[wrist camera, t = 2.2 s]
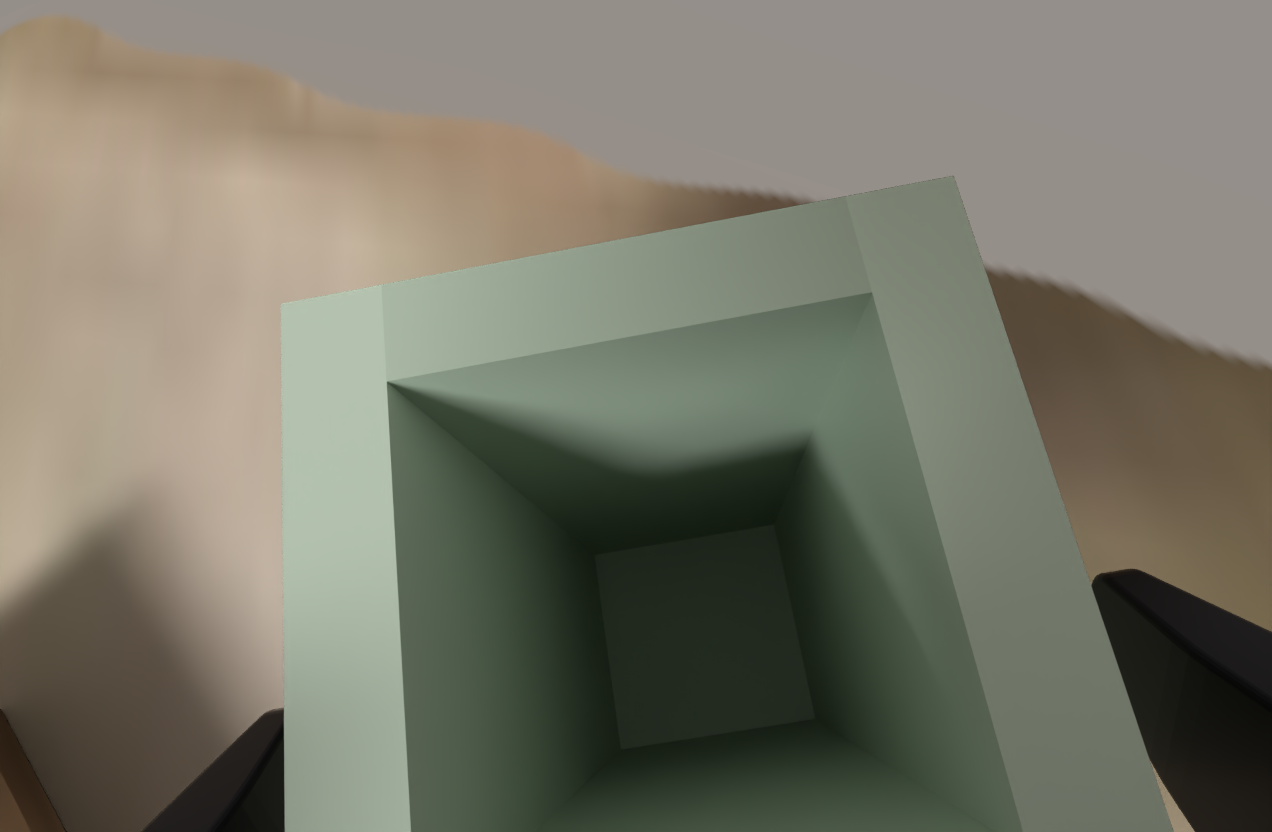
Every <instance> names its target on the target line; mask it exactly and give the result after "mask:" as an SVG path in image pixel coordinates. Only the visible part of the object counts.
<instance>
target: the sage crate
mask: <svg viewBox="0 0 1272 832" xmlns="http://www.w3.org/2000/svg"><path fill="white" fill-rule="evenodd" d="M281 396H282V528H283V660H284V792H285V832H1174V831H1173V828H1172V825H1171V822H1170V819H1169V816H1168V813H1167V810H1166V807H1165V804H1164V801H1163V798H1162V795H1161V792H1160V789H1159V786H1158V783H1157V780H1156V777H1155V775H1154V772H1153V769H1152V766H1151V763H1150V760H1149V757H1148V754H1147V751H1146V748H1145V745H1144V742H1143V739H1142V736H1141V733H1140V730H1139V727H1138V724H1137V721H1136V718H1135V715H1134V712H1133V709H1132V706H1131V703H1130V700H1129V697H1128V694H1127V691H1126V688H1125V685H1124V682H1123V679H1122V676H1121V673H1120V670H1119V667H1118V664H1117V661H1116V658H1115V655H1114V652H1113V649H1112V646H1111V643H1110V640H1109V637H1108V634H1107V631H1106V628H1105V625H1104V622H1103V620H1102V617H1101V614H1100V611H1099V608H1098V605H1097V602H1096V599H1095V596H1094V593H1093V590H1092V587H1091V584H1090V581H1089V578H1088V575H1087V572H1086V569H1085V566H1084V563H1083V560H1082V557H1081V554H1080V551H1079V548H1078V545H1077V542H1076V539H1075V536H1074V533H1073V530H1072V527H1071V524H1070V521H1069V518H1068V515H1067V512H1066V509H1065V506H1064V503H1063V500H1062V497H1061V494H1060V491H1059V488H1058V485H1057V482H1056V479H1055V476H1054V473H1053V470H1052V467H1051V465H1050V462H1049V459H1048V456H1047V453H1046V450H1045V447H1044V444H1043V441H1042V438H1041V435H1040V432H1039V429H1038V426H1037V423H1036V420H1035V417H1034V414H1033V411H1032V408H1031V405H1030V402H1029V399H1028V396H1027V393H1026V390H1025V387H1024V384H1023V381H1022V378H1021V375H1020V372H1019V369H1018V366H1017V363H1016V360H1015V357H1014V354H1013V351H1012V348H1011V345H1010V342H1009V339H1008V336H1007V333H1006V330H1005V327H1004V324H1003V321H1002V318H1001V315H1000V312H999V310H998V307H997V304H996V301H995V298H994V295H993V292H992V289H991V286H990V283H989V280H988V277H987V274H986V271H985V268H984V265H983V262H982V259H981V256H980V253H979V251H978V247H977V244H976V241H975V238H974V235H973V232H972V229H971V226H970V223H969V220H968V217H967V214H966V212H965V208H964V205H963V203H962V199H961V196H960V193H959V190H958V187H957V185H956V181H955V179H954V176H949V177H944V178H939V179H934V180H928V181H923V182H918V183H913V184H908V185H902V186H897V187H892V188H886V189H881V190H876V191H871V192H866V193H860V194H855V195H850V196H845V197H839V198H834V199H829V200H823V201H818V202H813V203H808V204H802V205H797V206H792V207H787V208H781V209H776V210H771V211H766V212H760V213H755V214H750V215H745V216H740V217H734V218H729V219H724V220H719V221H713V222H708V223H703V224H698V225H692V226H687V227H682V228H677V229H671V230H666V231H661V232H656V233H650V234H645V235H640V236H635V237H629V238H624V239H619V240H614V241H608V242H603V243H598V244H593V245H587V246H582V247H577V248H572V249H566V250H561V251H556V252H551V253H545V254H540V255H535V256H530V257H524V258H519V259H514V260H509V261H503V262H498V263H493V264H488V265H482V266H477V267H472V268H467V269H461V270H456V271H451V272H446V273H440V274H435V275H430V276H425V277H419V278H414V279H409V280H404V281H398V282H393V283H388V284H383V285H377V286H372V287H367V288H362V289H356V290H351V291H346V292H341V293H335V294H330V295H325V296H320V297H314V298H309V299H304V300H299V301H293V302H288V303H283V304H281Z"/></svg>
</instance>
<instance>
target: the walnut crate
mask: <svg viewBox="0 0 1272 832" xmlns="http://www.w3.org/2000/svg"><path fill="white" fill-rule="evenodd" d="M0 832H65V830H64V828H63V826H62V824H61V822H60V820H59V818H58V816H57V815H56V813H55V811H54V809H53V807H52V805H51V803H50V801H49V799H48V798H47V796H46V794H45V792H44V790H43V788H42V786H41V784H40V782H39V780H38V779H37V777H36V775H35V773H34V771H33V769H32V767H31V765H30V763H29V762H28V760H27V758H26V756H25V754H24V752H23V750H22V748H21V746H20V744H19V743H18V741H17V739H16V737H15V735H14V733H13V731H12V729H11V727H10V726H9V724H8V722H7V720H6V718H5V716H4V714H3V712H2V710H1V709H0Z"/></svg>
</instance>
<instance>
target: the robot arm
mask: <svg viewBox="0 0 1272 832" xmlns="http://www.w3.org/2000/svg"><path fill="white" fill-rule="evenodd" d="M1091 587H1092V590H1093V593H1094V596H1095V599H1096V602H1097V605H1098V608H1099V611H1100V614H1101V617H1102V620H1103V622H1104V625H1105V628H1106V631H1107V634H1108V637H1109V640H1110V643H1111V646H1112V649H1113V652H1114V655H1115V658H1116V661H1117V664H1118V667H1119V670H1120V673H1121V676H1122V679H1123V682H1124V685H1125V688H1126V691H1127V694H1128V697H1129V700H1130V703H1131V706H1132V709H1133V712H1134V715H1135V718H1136V721H1137V724H1138V727H1139V730H1140V733H1141V736H1142V739H1143V742H1144V745H1145V748H1146V751H1147V754H1148V757H1149V759H1150V761H1151V763H1152V765H1153V766H1154V768H1155V770H1156V772H1157V773H1158V775H1159V777H1160V779H1161V780H1162V782H1163V784H1164V785H1165V787H1166V788H1167V790H1168V792H1169V793H1170V795H1171V796H1172V798H1173V799H1174V801H1175V802H1176V804H1177V806H1178V807H1179V809H1180V810H1181V812H1182V813H1183V815H1184V816H1185V817H1186V819H1187V820H1188V822H1189V823H1190V825H1191V826H1192V828H1193V829H1194V831H1195V832H1272V632H1271V631H1269V630H1266V629H1264V628H1262V627H1260V626H1258V625H1256V624H1254V623H1252V622H1249V621H1247V620H1245V619H1243V618H1241V617H1239V616H1237V615H1234V614H1232V613H1230V612H1228V611H1226V610H1224V609H1222V608H1220V607H1217V606H1215V605H1213V604H1211V603H1209V602H1207V601H1205V600H1203V599H1200V598H1198V597H1196V596H1194V595H1192V594H1190V593H1188V592H1186V591H1183V590H1181V589H1179V588H1177V587H1175V586H1173V585H1171V584H1169V583H1166V582H1164V581H1162V580H1160V579H1158V578H1156V577H1154V576H1152V575H1149V574H1147V573H1145V572H1143V571H1140V570H1137V569H1125V570H1119V571H1113V572H1107V573H1101V574H1099V575H1097V576H1096V577H1095V578H1094V580H1093V582H1092V586H1091ZM141 832H285V792H284V708H279V709H273V710H270V711H268V712H266V713H264V714H263V715H262V716H261V717H260V718H259V719H258V720H257V721H256V722H255V723H253V724H252V725H251V726H250V727H249V728H248V729H247V730H246V731H245V732H244V733H243V734H242V735H241V736H240V737H239V738H238V739H237V740H236V741H235V742H234V743H233V744H232V745H231V746H230V747H229V748H227V749H226V750H225V751H224V752H223V753H222V754H221V755H220V756H219V757H218V758H217V759H216V760H215V761H214V762H213V763H212V764H211V765H210V766H209V767H208V768H207V769H206V770H205V771H204V772H203V773H201V774H200V775H199V776H198V777H197V778H196V779H195V780H194V781H193V782H192V783H191V784H190V785H189V786H188V787H187V788H186V789H185V790H184V791H183V792H182V793H181V794H180V795H179V796H178V797H177V798H175V799H174V800H173V801H172V802H171V803H170V804H169V805H168V806H167V807H166V808H165V809H164V810H163V811H162V812H161V813H160V814H159V815H158V816H157V817H156V818H155V819H154V820H153V821H152V822H151V823H149V824H148V825H147V826H146V827H145V828H144V829H143V830H142V831H141Z"/></svg>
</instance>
